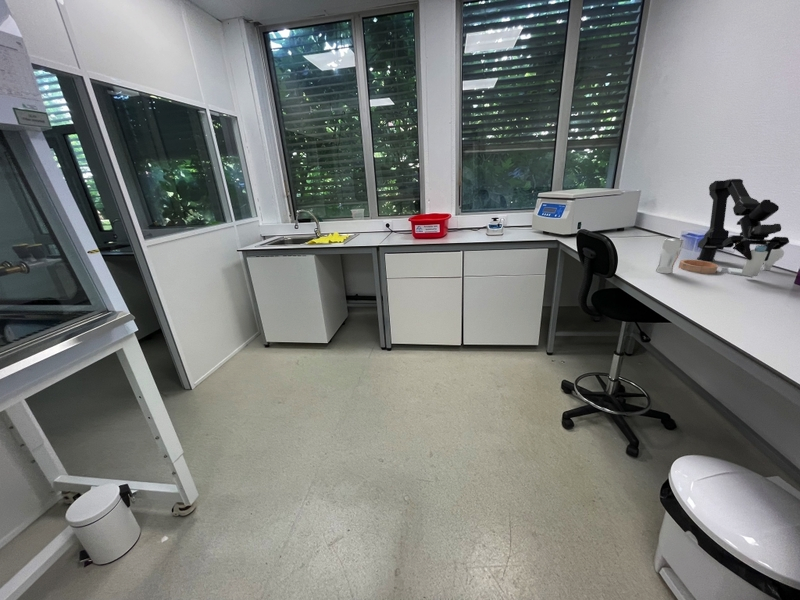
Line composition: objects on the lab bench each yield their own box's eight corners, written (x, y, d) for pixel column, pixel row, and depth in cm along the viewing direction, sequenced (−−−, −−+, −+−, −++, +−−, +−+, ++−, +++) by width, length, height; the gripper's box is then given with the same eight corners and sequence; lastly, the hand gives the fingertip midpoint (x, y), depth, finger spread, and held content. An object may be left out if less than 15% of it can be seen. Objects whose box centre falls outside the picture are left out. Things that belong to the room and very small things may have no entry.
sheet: (727, 269, 146) (728, 267, 146) (742, 271, 144) (743, 269, 143) (730, 273, 141) (731, 271, 141) (746, 275, 138) (747, 273, 138)
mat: (721, 268, 149) (722, 267, 149) (752, 273, 142) (752, 272, 142) (720, 273, 143) (720, 272, 143) (752, 278, 136) (752, 277, 136)
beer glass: (666, 269, 149) (677, 237, 143) (677, 274, 142) (688, 241, 137) (650, 269, 150) (660, 237, 144) (660, 274, 143) (671, 241, 137)
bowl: (680, 264, 157) (683, 258, 155) (716, 269, 148) (719, 263, 147) (676, 270, 148) (678, 263, 147) (714, 276, 140) (716, 269, 138)
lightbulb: (771, 269, 147) (782, 246, 142) (778, 273, 141) (789, 249, 137) (752, 268, 149) (762, 244, 145) (759, 271, 144) (769, 247, 140)
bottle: (741, 271, 137) (753, 244, 132) (757, 274, 133) (770, 246, 129) (740, 274, 134) (752, 246, 129) (757, 277, 130) (770, 248, 126)
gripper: (737, 215, 130) (744, 248, 125) (797, 216, 125) (806, 251, 120) (719, 231, 140) (724, 262, 135) (773, 232, 135) (781, 265, 130)
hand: (758, 260), depth 130 cm, fingers closed on bottle, 5 cm apart
